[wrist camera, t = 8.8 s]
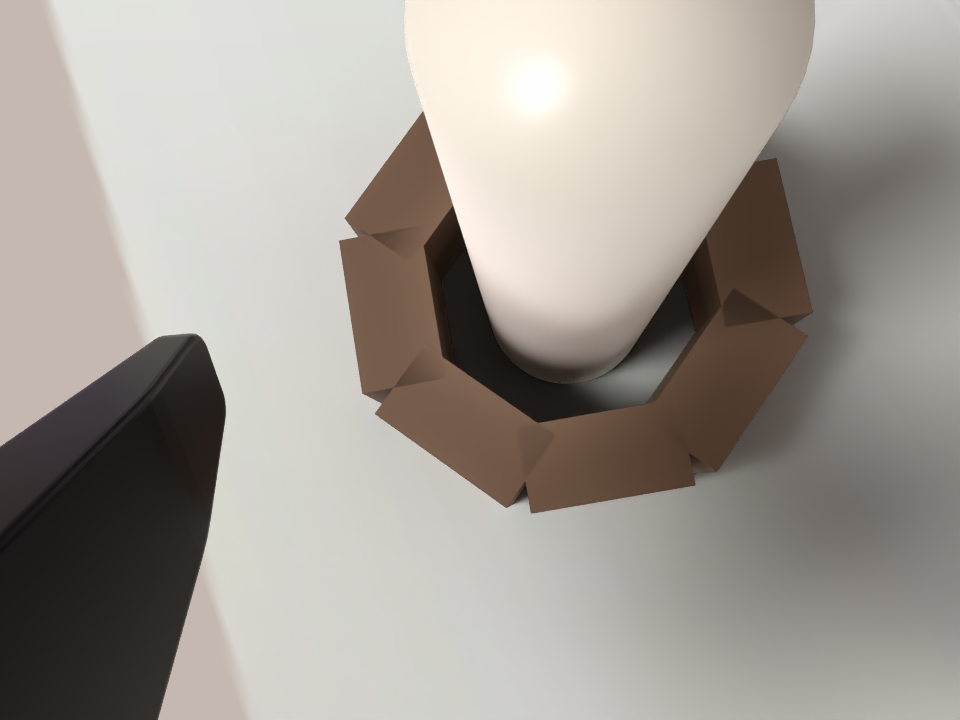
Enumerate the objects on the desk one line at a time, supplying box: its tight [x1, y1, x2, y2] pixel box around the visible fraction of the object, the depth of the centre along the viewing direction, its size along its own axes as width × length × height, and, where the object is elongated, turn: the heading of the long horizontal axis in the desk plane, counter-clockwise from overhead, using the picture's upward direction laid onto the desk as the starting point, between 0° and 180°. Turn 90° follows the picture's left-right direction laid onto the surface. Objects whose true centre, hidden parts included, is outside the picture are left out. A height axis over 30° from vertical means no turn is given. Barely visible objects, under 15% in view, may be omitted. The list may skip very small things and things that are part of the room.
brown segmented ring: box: [339, 111, 812, 514], centre depth 19 cm, size 9×9×3 cm
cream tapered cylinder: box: [404, 0, 815, 384], centre depth 14 cm, size 4×4×13 cm
